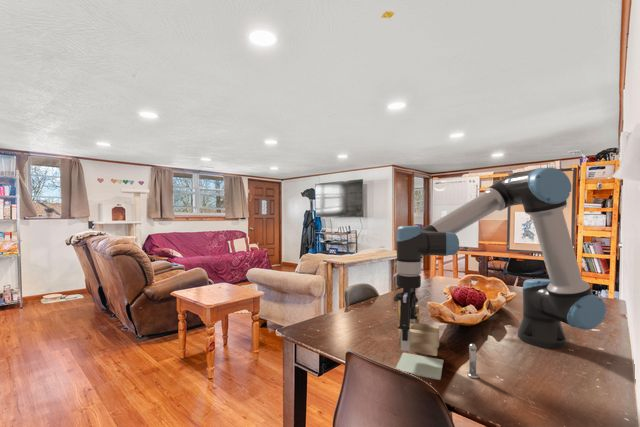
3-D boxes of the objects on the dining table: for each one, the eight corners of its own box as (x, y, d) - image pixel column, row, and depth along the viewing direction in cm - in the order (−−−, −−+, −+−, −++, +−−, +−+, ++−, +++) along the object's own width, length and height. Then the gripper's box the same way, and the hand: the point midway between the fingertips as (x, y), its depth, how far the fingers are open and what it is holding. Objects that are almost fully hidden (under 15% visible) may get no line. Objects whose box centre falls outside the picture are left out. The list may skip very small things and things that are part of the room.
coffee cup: (419, 337, 122) (419, 298, 122) (394, 335, 124) (394, 297, 124) (416, 328, 131) (416, 292, 131) (393, 327, 133) (393, 291, 133)
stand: (478, 374, 94) (478, 343, 94) (478, 379, 91) (478, 346, 91) (467, 372, 95) (467, 341, 95) (467, 377, 92) (467, 345, 92)
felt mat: (443, 361, 102) (443, 359, 102) (440, 380, 91) (440, 378, 91) (402, 353, 108) (402, 352, 108) (395, 370, 96) (395, 369, 96)
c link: (399, 349, 98) (399, 330, 98) (404, 338, 106) (404, 321, 106) (436, 356, 93) (436, 335, 93) (439, 344, 101) (439, 326, 101)
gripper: (402, 267, 112) (402, 331, 112) (389, 279, 93) (388, 355, 93) (424, 269, 109) (424, 334, 109) (415, 281, 89) (415, 360, 89)
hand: (408, 344), depth 101 cm, fingers closed on c link, 9 cm apart
